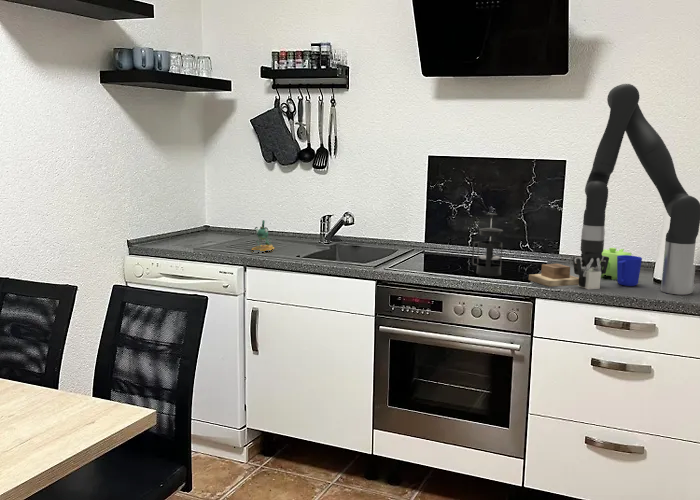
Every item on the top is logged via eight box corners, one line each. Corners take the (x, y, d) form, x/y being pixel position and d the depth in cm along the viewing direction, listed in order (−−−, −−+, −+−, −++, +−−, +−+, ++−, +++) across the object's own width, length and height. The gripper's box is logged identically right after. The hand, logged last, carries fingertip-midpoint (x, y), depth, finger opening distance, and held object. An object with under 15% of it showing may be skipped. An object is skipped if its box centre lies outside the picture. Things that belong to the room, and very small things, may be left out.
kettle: (584, 273, 269) (586, 244, 267) (620, 273, 269) (622, 245, 268) (599, 281, 254) (602, 250, 252) (637, 281, 255) (640, 251, 253)
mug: (606, 285, 246) (608, 257, 244) (621, 281, 254) (623, 254, 253) (628, 289, 240) (631, 261, 239) (643, 285, 249) (646, 257, 247)
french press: (503, 272, 267) (507, 212, 264) (502, 276, 258) (505, 215, 255) (473, 270, 270) (475, 211, 267) (470, 274, 262) (473, 213, 258)
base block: (556, 274, 255) (557, 263, 254) (569, 278, 248) (570, 266, 248) (541, 275, 252) (541, 264, 252) (553, 279, 246) (554, 267, 245)
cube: (589, 285, 246) (591, 269, 245) (599, 288, 241) (601, 271, 240) (578, 286, 244) (579, 269, 243) (588, 289, 239) (589, 272, 239)
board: (560, 277, 259) (560, 272, 258) (581, 284, 248) (582, 278, 247) (528, 279, 254) (528, 274, 253) (549, 286, 243) (549, 281, 242)
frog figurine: (283, 249, 313) (282, 217, 309) (263, 259, 297) (261, 225, 293) (264, 247, 317) (263, 215, 313) (243, 257, 301) (242, 224, 297)
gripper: (583, 240, 234) (579, 289, 237) (617, 239, 239) (613, 287, 242) (568, 237, 241) (565, 285, 243) (601, 236, 246) (598, 282, 249)
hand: (589, 286), depth 243 cm, fingers open, 5 cm apart
